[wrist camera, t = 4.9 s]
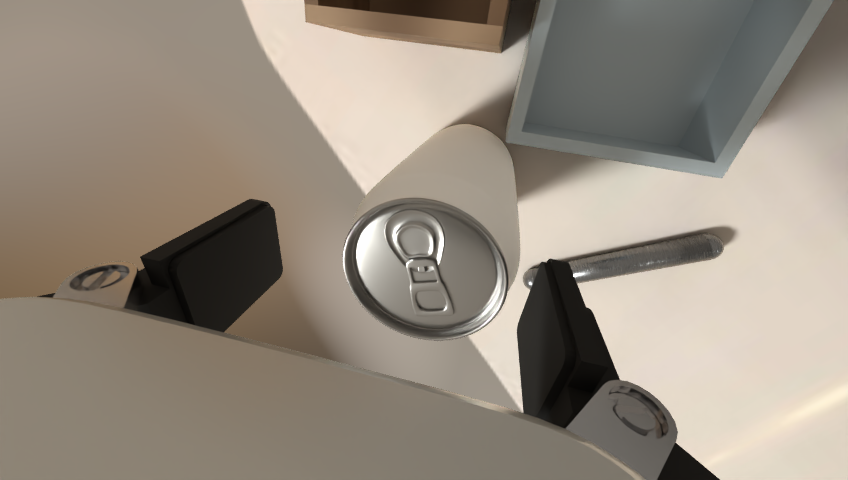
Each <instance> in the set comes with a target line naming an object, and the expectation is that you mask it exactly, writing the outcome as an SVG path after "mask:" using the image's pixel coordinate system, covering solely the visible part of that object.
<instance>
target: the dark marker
mask: <svg viewBox="0 0 848 480" xmlns="http://www.w3.org/2000/svg"><path fill="white" fill-rule="evenodd" d="M723 250H724V244H723V242H722V240H721V239H720V238H719V237H717V236H715V235H712V234H698V235H694V236H689V237H684V238H679V239H674V240H669V241H664V242H660V243H655V244H650V245H645V246H640V247H635V248H630V249H625V250H621V251H616V252H611V253H606V254H601V255H596V256H591V257H586V258H582V259H577V260H572V261H567V262H568V263H569V264H570V267H571V269H572V272H573V275H574V277H575V280H576V283H583V282H588V281H594V280H599V279H605V278H611V277H616V276H622V275H628V274H633V273H639V272H644V271H650V270H656V269H661V268H667V267H672V266H678V265H684V264H689V263H695V262H700V261H706V260H711V259H715V258H717V257H718V256H720V255H721V254H722V252H723ZM538 269H539V267H538V268H533V269H529V270H528V271H526V272H525V274H524V276H523V282H524V285H525V286H526V287H527V288H528V289H530V290H531V287H532V285H533V282H534V279H535V277H536V274H537V271H538Z"/></svg>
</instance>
